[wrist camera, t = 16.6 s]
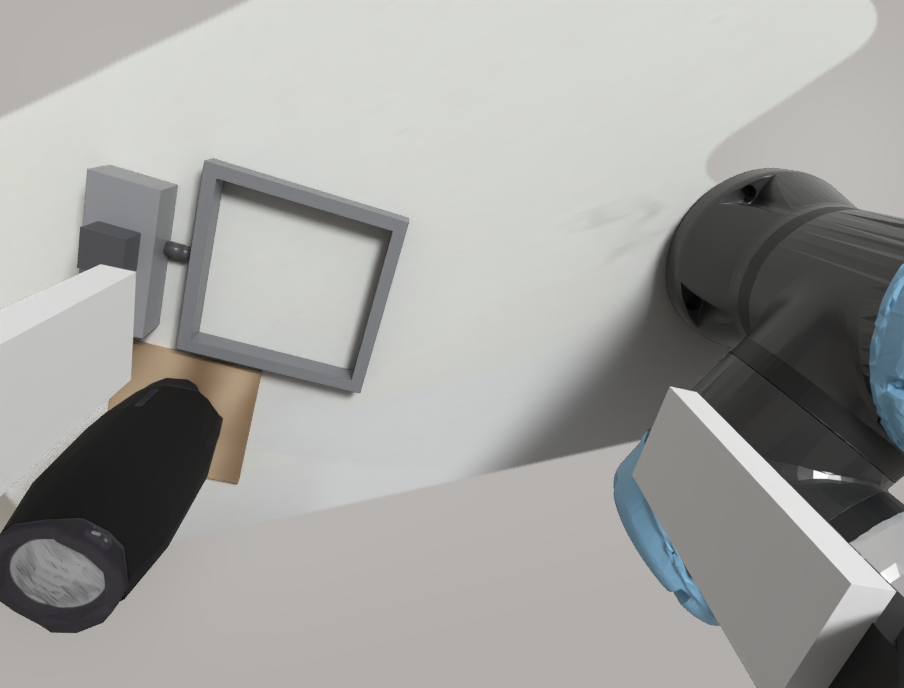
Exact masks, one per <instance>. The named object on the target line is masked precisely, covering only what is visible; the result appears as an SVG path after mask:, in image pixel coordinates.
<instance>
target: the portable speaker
mask: <svg viewBox="0 0 904 688" xmlns="http://www.w3.org/2000/svg"><path fill="white" fill-rule="evenodd" d="M222 422H223V418H222V417H221V416H220V415H219V414H218V412H217V411H216V410H215V408H214V407H213V405H212V404H211V402H210V401H209V400H208V398H206V397H205V396H204V395H202V394H201V393H200V392H199V389H198V387H197V385H196V384H194V383H192V382H191V381H189V380H188V379H176V378H164V379H162V380H159V381H156V382H154V383H151V384H150V385H148V386H147V387H145V388H143V389H141V390H139V391H137V392H135V393H134V394H132V395H131V396H129V397H128V398H126V399H125V400H123V401H122V402H121V403H119V404H118V405H116V406H115V407H113V408H112V409H110V410H109V411H108V412H106V413H105V414H104V415H103V416H101V417H100V418H99V419H98V420H97V421H95V422H94V423H93V424H92V425H91V426H89V427H88V428H87V429H86V430H85V431H84V432H83V433H82V434H81V435H80V436H79V437H78V438H77V439H76V440H75V441H74V442H73V443H72V444H71V445H70V446H69V447H68V448H67V449H66V450H65V451H64V452H63V453H62V454H61V455H60V456H59V457H58V458H57V459H56V460H55V461H54V462H53V463H52V464H51V465H50V466H49V467H48V468H47V469H46V470H45V471H44V472H43V473H42V474H41V475H40V476H39V477H38V478H37V479H36V480H35V481H34V482H33V483H32V485H31V486H30V488H29V489H28V491H27V493H26V494H25V496H24V497H23V499H22V500H21V502H20V504H19V505H18V507H17V508H16V510H15V512H14V513H13V515H12V516H11V518H10V519H9V521H8V523H7V524H6V526H5V527H4V529H3V530H2V532H1V533H0V602H2V603H3V604H5V605H6V606H8V607H9V608H10V609H12V610H13V611H15V612H16V613H18V614H20V615H22V616H24V617H26V618H28V619H30V620H32V621H33V622H35V623H37V624H39V625H41V626H42V627H44V628H45V629H47V630H48V631H50V632H57V633H59V632H60V633H78V632H80V631H83V630H85V629H88V628H90V627H93V626H95V625H98V624H100V623H103V622H104V621H105V620H106V619H107V617H108V616H109V615H110V614H111V613H112V611H113V610H114V608H115V607H116V606H117V605H118V603H119V602H120V601H122V600H123V599H125V597H127V595H128V594H129V593H130V592H131V590H132V589H133V588H134V587H135V586H136V584H137V583H138V582H139V581H140V579H142V577H143V576H144V575H145V574H146V573H147V571H148V570H149V569H150V568H151V567H152V565H153V564H154V563H155V562H156V561H157V559H158V558H159V557H160V556H161V554H162V553H163V552H164V551H165V550H166V549H167V547H168V546H169V544H170V542H171V540H172V539H173V537H174V535H175V533H176V531H177V530H178V528H179V526H180V524H181V523H182V521H183V519H184V517H185V515H186V514H187V512H188V510H189V508H190V506H191V505H192V503H193V501H194V499H195V498H196V496H197V494H198V492H199V490H200V489H201V487H202V485H203V483H204V481H205V480H206V478H207V476H208V473H209V469H210V466H211V462H212V459H213V455H214V451H215V448H216V444H217V441H218V439H219V436H220V431H221V427H222Z"/></svg>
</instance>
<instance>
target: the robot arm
mask: <svg viewBox="0 0 904 688" xmlns="http://www.w3.org/2000/svg"><path fill="white" fill-rule="evenodd" d="M666 281H667V288H668V292H669V296H670V299H671V301H672V303H673V305H674V307H675V309H676V311H677V312H678V314H679V315H680V316H681V318H682V319H683V320H684V321H685V322H686V323H687V324H688V325H690V326H691V327H692V328H693V329H695V330H696V331H697V332H699V333H700V334H701V335H703V336H704V337H706V338H707V339H709V340H711V341H713V342H716V343H718V344H721V345H724V346H727V347H732V348H734V349H733V350H732V351H730V352H729V353H728V354H727V355H726V356H725V357H724V358H723V359H722V360H721V361H720V362H719V363H718V364H717V365H716V366H715V367H714V368H713V369H712V370H711V371H710V372H709V373H708V374H707V375H706V376H705V377H704V378H703V379H702V380H701V381H700V382H699V383H698V384H697V385H696V386H695V387H694V388H693V389H692V390H691V391H689V390H684V389H680V388H675V387H669V389H668V391H667V394H666V396H665V398H664V401H663V403H662V405H661V408H660V410H659V413H658V415H657V417H656V420H655V422H654V424H653V427H652V428H650V429H648V430H647V431H646V432H645V433H644V434H643V436H642V438H641V442H640V443H639V444H638V445H637V446H636V448H635V449H634V450H633V451H632V452H631V453H630V454H629V455H628V456H627V457H626V459H625V460H624V461H623V462H622V463H621V464H620V466H619V467H618V469H617V471H616V473H615V476H614V500H615V504H616V507H617V510H618V513H619V516H620V518H621V521H622V523H623V525H624V527H625V530H626V532H627V533H628V536H629V537H630V539H631V541H632V543H633V544H634V546H635V548H636V549H637V551H638V553H639V554H640V556H641V557H642V559H643V560H644V562H645V563H646V565H647V566H648V567H649V569H650V570H651V571H652V573H653V574H654V575H655V577H656V578H657V579H658V580H659V582H660V583H661V584H662V585H663V586H664V587H665V588H666V589H667V590H668V591H669V592H674V594H675V596H676V597H677V599H678V601H679V602H680V604H681V605H682V606H683V607H684V608H685V609H686V610H687V611H689V612H690V613H691V614H692V615H693V616H695V617H696V618H698V619H700V620H701V621H703V622H705V623H707V624H709V625H715V626H721V628H722V630H723V631H724V633H725V635H726V636H727V638H728V640H729V642H730V643H731V645H732V647H733V648H734V650H735V652H736V653H737V655H738V657H739V659H740V660H741V662H742V664H743V665H744V667H745V669H746V671H747V672H748V674H749V676H750V678H751V679H752V681H753V682H754V684H755V686H756V688H904V504H903V503H901V502H900V501H899V500H898V499H896V498H895V497H894V496H893V495H891V494H890V493H889V492H888V489H889V488H890V487H891V486H892V485H894V483H896V482H897V481H898V480H899V479H900V478H902V477H903V476H904V219H903V218H898V217H893V216H889V215H883V214H879V213H875V212H870V211H864V210H860V209H858V208H857V207H855V206H854V205H853V204H852V203H851V202H850V201H849V200H848V199H846V198H845V197H844V196H843V195H842V194H841V193H840V192H838V191H837V190H836V189H835V188H834V187H833V186H831V185H830V184H829V183H827V182H826V181H824V180H822V179H820V178H818V177H815V176H813V175H810V174H807V173H804V172H799V171H793V170H787V169H779V168H764V169H757V170H751V171H748V172H744V173H741V174H738V175H736V176H734V177H731V178H729V179H727V180H725V181H723V182H722V183H720V184H718V185H717V186H716V187H714V188H713V189H711V190H710V191H709V192H707V193H706V194H705V195H704V196H703V197H702V198H701V199H700V200H699V201H698V202H697V203H696V204H695V205H694V206H693V207H692V208H691V209H690V211H689V212H688V213H687V215H686V216H685V217H684V219H683V220H682V222H681V224H680V225H679V227H678V229H677V231H676V233H675V235H674V238H673V240H672V243H671V246H670V249H669V253H668V258H667V265H666ZM135 286H136V272H134V271H130V270H125V269H120V268H116V267H111V266H106V265H102V264H100V265H98V266H96V267H93V268H91V269H89V270H87V271H84V272H82V273H80V274H78V275H76V276H73V277H71V278H69V279H67V280H65V281H62V282H60V283H58V284H56V285H53V286H51V287H49V288H47V289H45V290H42V291H40V292H38V293H36V294H33V295H31V296H29V297H27V298H25V299H22V300H20V301H18V302H16V303H14V304H11V305H9V306H7V307H5V308H2V309H0V496H1V495H2V494H4V493H5V492H6V491H7V490H8V489H9V488H10V487H11V486H13V485H14V484H15V483H16V482H17V481H18V480H19V479H20V478H21V477H23V476H24V475H25V474H26V473H27V472H28V471H29V470H30V469H32V468H33V467H34V466H35V465H36V464H37V463H38V462H39V461H41V460H42V459H43V458H44V457H45V456H46V455H47V454H48V453H49V452H51V451H52V450H53V449H54V448H55V447H56V446H57V445H58V444H60V443H61V442H62V441H63V440H64V439H65V438H66V437H67V436H68V435H70V434H71V433H72V432H73V431H74V430H75V429H76V428H77V427H79V426H80V425H81V424H82V423H83V422H84V421H85V420H86V419H88V418H89V417H90V416H91V415H92V414H93V413H94V412H95V411H96V410H98V409H99V408H100V407H101V406H102V405H103V404H104V403H105V402H107V401H108V400H109V399H110V398H111V397H112V396H113V395H114V394H116V393H117V392H118V391H119V390H120V389H121V388H122V387H123V386H124V385H126V384H127V383H128V382H129V381H130V380H131V369H132V348H133V328H134V307H135Z"/></svg>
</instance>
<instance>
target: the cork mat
mask: <svg viewBox="0 0 904 688" xmlns="http://www.w3.org/2000/svg"><path fill="white" fill-rule="evenodd" d="M261 374H262V371H258V370H254V369H250V368H246V367H242V366H238V365H233V364H229V363H225V362H221V361H217V360H213V359H209V358H205V357H201V356H197V355H193V354H189V353H184V352H180V351H176V350H172V349H168V348H164V347H160V346H156V345H152V344H148V343H144V342H140V341H135V340H133V348H132V369H131V380H130V381H129V382H128V383H127V384H126V385H124V386H123V387H122V388H121V389H120V390H119V391H118V392H117V393H116V394H114V395H113V396H112V397H111V398H110V401H109V410H110V409H112V408H113V407H115V406H116V405H118V404H119V403H121V402H122V401H123V400H125V399H126V398H128V397H129V396H131V395H132V394H134V393H135V392H137V391H139V390H141V389H143V388H145V387H147V386H148V385H150V384H151V383H154V382H156V381H159V380H162V379H164V378H176V379H188V380H189V381H191V382H192V383H194V384H196V385H197V387H198V389H199V392H200V393H201V394H202V395H204V396H205V397H206V398H208V400H209V401H210V402H211V404H212V405H213V407H214V408H215V410H216V411H217V412H218V414H219V415H220V416H221V417H222V418H223V422H222V427H221V431H220V436H219V439H218V441H217V444H216V448H215V451H214V455H213V459H212V462H211V466H210V469H209V473H208V476H207V478H210V479H215V480H219V481H224V482H229V483H234V484H237V483H238V481H239V478H240V473H241V468H242V463H243V459H244V454H245V449H246V445H247V440H248V435H249V430H250V426H251V421H252V416H253V411H254V407H255V402H256V397H257V393H258V388H259V383H260V378H261Z"/></svg>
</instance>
